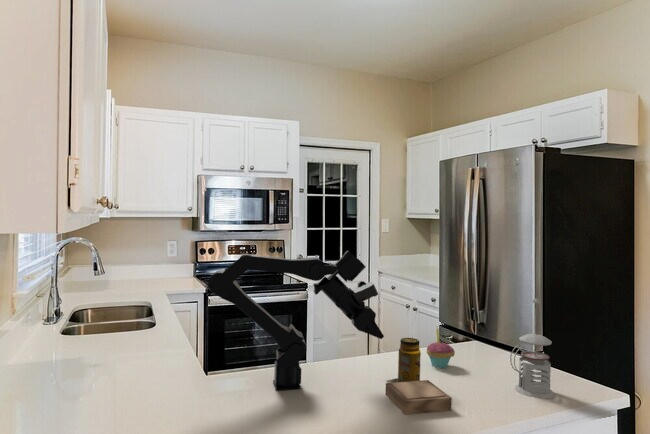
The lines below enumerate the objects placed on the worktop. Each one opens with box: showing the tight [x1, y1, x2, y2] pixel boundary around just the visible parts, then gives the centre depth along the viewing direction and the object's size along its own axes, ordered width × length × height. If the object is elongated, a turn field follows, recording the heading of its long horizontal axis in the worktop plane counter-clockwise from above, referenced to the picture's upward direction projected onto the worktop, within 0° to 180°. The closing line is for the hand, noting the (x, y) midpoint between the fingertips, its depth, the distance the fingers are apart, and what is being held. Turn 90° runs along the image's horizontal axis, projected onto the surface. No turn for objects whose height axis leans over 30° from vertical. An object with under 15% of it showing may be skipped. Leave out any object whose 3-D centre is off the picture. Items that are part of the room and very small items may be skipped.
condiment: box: [386, 337, 421, 383], centre depth 126 cm, size 7×8×12 cm
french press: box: [509, 298, 555, 399], centre depth 122 cm, size 10×12×25 cm
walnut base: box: [385, 379, 453, 415], centre depth 112 cm, size 12×12×3 cm
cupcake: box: [426, 327, 456, 369], centre depth 142 cm, size 9×8×12 cm
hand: (378, 333), depth 125 cm, fingers open, 9 cm apart
